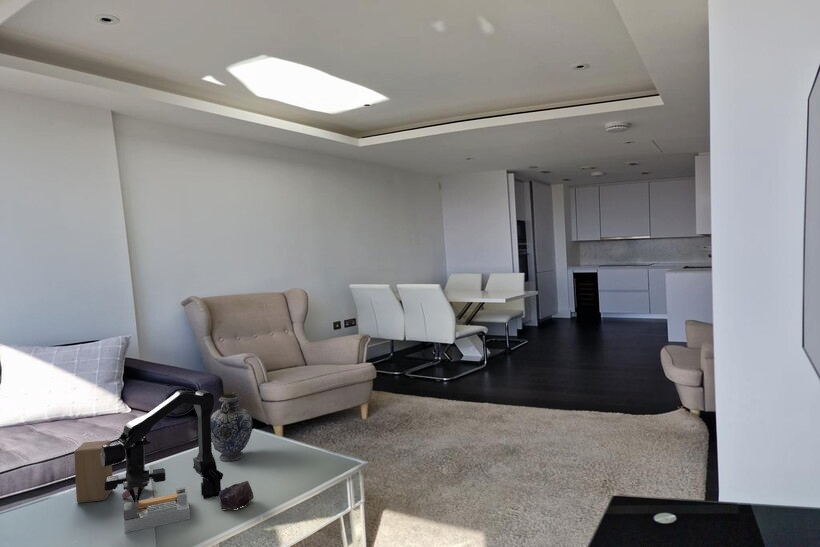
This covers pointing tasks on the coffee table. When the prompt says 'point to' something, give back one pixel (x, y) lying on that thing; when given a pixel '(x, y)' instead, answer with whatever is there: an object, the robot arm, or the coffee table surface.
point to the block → (91, 472)
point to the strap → (157, 500)
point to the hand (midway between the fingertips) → (136, 503)
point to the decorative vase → (230, 428)
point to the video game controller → (127, 494)
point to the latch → (130, 510)
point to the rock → (236, 496)
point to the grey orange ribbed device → (160, 513)
